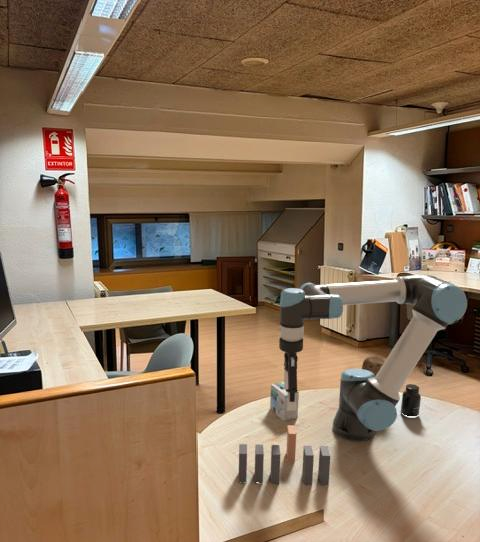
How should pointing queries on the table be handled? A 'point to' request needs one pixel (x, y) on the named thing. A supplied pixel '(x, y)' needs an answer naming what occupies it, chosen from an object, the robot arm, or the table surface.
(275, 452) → the domino
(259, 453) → the domino
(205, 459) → the table surface
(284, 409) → the light bulb box
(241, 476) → the domino
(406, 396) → the supplement bottle
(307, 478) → the domino
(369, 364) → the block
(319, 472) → the domino
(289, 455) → the domino
